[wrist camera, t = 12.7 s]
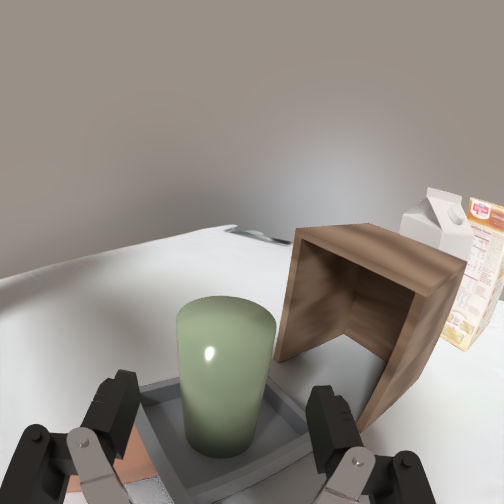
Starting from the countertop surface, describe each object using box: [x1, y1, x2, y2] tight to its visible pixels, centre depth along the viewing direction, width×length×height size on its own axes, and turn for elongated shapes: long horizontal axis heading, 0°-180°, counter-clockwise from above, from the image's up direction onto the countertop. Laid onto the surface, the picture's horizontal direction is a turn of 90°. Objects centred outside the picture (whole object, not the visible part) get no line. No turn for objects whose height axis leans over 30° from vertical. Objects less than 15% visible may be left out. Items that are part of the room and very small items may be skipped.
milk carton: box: [399, 187, 474, 262], centre depth 31 cm, size 7×7×19 cm
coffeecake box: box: [440, 197, 504, 352], centre depth 31 cm, size 15×7×20 cm, turn 118°
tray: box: [65, 376, 313, 504], centre depth 15 cm, size 18×12×3 cm, turn 123°
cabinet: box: [274, 223, 467, 433], centre depth 24 cm, size 11×12×14 cm
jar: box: [176, 296, 276, 459], centre depth 16 cm, size 5×5×10 cm
